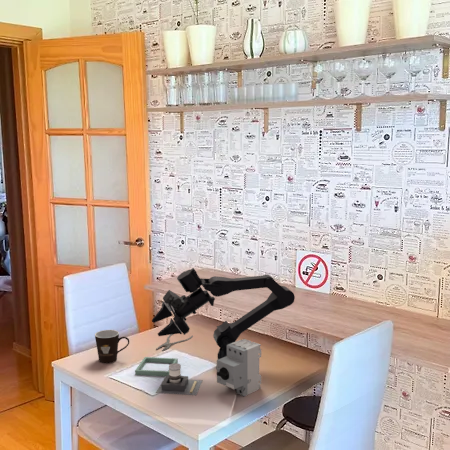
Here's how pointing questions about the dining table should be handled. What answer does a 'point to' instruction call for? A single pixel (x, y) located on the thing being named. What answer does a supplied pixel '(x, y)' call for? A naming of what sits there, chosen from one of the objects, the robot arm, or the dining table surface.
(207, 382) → the dining table surface
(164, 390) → the board
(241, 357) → the circuit breaker
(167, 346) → the pliers
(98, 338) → the coffee mug
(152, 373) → the parts tray
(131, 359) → the dining table surface
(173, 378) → the white banded cylinder
